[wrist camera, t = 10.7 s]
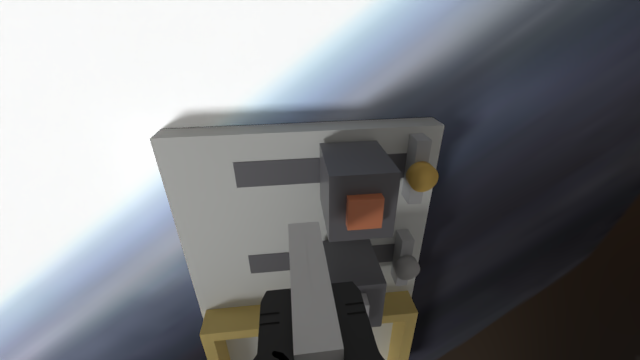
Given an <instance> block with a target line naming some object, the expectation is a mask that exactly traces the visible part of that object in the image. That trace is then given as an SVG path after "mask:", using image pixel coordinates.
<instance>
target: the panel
mask: <svg viewBox="0 0 640 360" xmlns="http://www.w3.org/2000/svg"><path fill="white" fill-rule="evenodd" d="M444 126H445V125H443V124H442V123H440V122H439V121H437V120H436V119H434V118H433V117H425V118H402V119H379V120H356V121H332V122H309V123H286V124H263V125H240V126H217V127H193V128H170V129H160V130H159V131H158V132H157V133H156V134H155V135H154V136H152V137H151V138H150V141H151V144H152V147H153V151H154V154H155V158H156V161H157V164H158V168H159V171H160V174H161V178H162V181H163V185H164V188H165V191H166V195H167V198H168V202H169V205H170V208H171V212H172V215H173V218H174V222H175V225H176V229H177V232H178V235H179V239H180V242H181V246H182V249H183V252H184V256H185V259H186V262H187V266H188V269H189V273H190V276H191V279H192V283H193V286H194V290H195V293H196V296H197V300H198V303H199V306H200V310H201V313H202V317H203V324H202V327H201V331H200V338H201V341H202V345H203V348H204V351H205V354H206V357H207V360H253V359H254V358H255V356H256V355H257V348H258V333H259V318H260V304H261V300H262V298H263V296H264V295H265V293H266V291H269V290H279V289H289V288H291V282H290V259H289V235H288V224H293V223H305V222H317V221H319V226H320V231H321V236H322V241H324V240H328V235H327V230H326V225H325V220H324V215H323V210H322V205H321V201H320V144H319V143H333V142H353V141H373V140H377V141H378V143H379V144H380V145H381V147H382V148H383V149H384V150H385V152H386V153H387V154H388V156H389V157H390V158H391V160H392V161H393V162H394V163H395V165H396V166H397V167H398V169H399V170H400V171H401V179H400V187H399V194H398V202H397V210H396V217H395V225H394V233H393V237H389V238H377V239H370V242H371V244H372V247H373V249H374V252H375V254H376V257H377V260H378V262H379V265H380V267H381V270H382V272H383V275H384V278H385V280H386V283H387V286H386V294H385V301H384V309H383V317H382V324H381V326H380V327H371V328H372V331H373V334H374V338H375V341H376V344H377V347H378V350H379V352H380V354H381V355H382V357H383V358H384V359H385V360H408V358H409V354H410V349H411V344H412V340H413V335H414V330H415V326H416V321H417V316H418V311H417V309H416V307H415V304H414V302H413V300H412V293H413V288H414V283H415V277H416V276H417V275H418V274H419V272H420V266H419V264H418V262H419V256H420V251H421V246H422V241H423V236H424V230H425V225H426V220H427V215H428V209H429V204H430V199H431V194H432V188H433V187H434V186H435V185H436V183H437V181H438V177H439V176H438V172H437V170H436V168H437V162H438V157H439V152H440V147H441V141H442V136H443V131H444Z"/></svg>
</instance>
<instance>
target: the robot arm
mask: <svg viewBox="0 0 640 360" xmlns="http://www.w3.org/2000/svg"><path fill="white" fill-rule="evenodd" d="M288 235H289V259H290V282H291V288H289V289H279V290H269V291H266V293H265V295H264V296H263V298H262V300H261V304H260V318H259V333H258V348H257V355H256V356H255V358H254V359H253V360H385V359H384V358H383V357H382V355H381V354H380V352H379V350H378V347H377V344H376V341H375V338H374V334H373V331H372V328H371V324H370V321H369V318H368V314H367V312H366V308H365V305H364V301H363V298H362V295H361V291H360V290H359V289H358V287H357V286H356V285H355V284H354V283H353V281H350V282H340V283H331V281H330V276H329V271H328V266H327V261H326V256H325V251H324V246H323V241H322V236H321V231H320V226H319V221H317V222H305V223H293V224H288Z"/></svg>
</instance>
